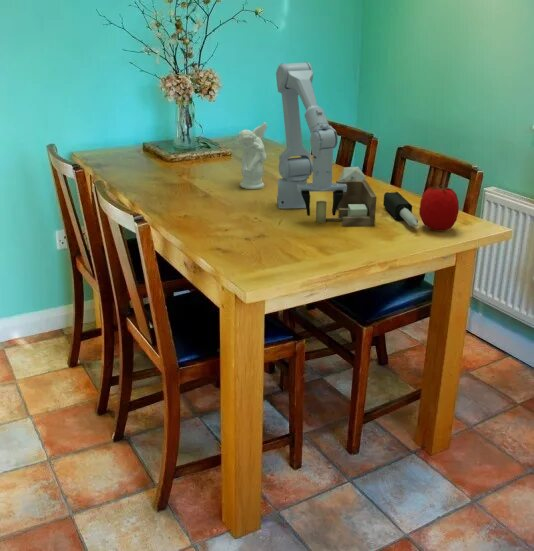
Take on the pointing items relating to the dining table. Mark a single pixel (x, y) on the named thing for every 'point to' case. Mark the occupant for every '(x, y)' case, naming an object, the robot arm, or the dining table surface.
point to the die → (352, 174)
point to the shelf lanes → (357, 195)
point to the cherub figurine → (252, 157)
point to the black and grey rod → (399, 208)
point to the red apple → (439, 208)
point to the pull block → (353, 211)
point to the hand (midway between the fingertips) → (321, 214)
